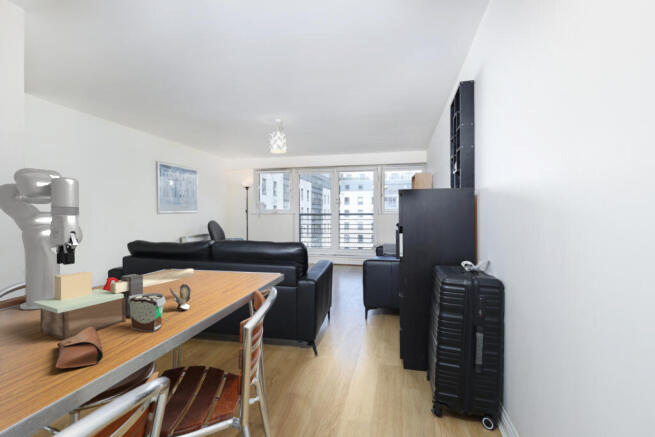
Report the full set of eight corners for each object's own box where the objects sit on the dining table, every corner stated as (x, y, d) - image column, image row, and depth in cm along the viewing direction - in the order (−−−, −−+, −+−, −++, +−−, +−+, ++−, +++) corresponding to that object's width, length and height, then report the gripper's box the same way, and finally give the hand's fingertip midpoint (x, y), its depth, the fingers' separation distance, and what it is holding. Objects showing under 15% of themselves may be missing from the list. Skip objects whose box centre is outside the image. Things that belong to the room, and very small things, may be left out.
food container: (175, 326, 92) (175, 294, 92) (157, 333, 86) (157, 299, 86) (146, 321, 96) (146, 291, 96) (128, 328, 90) (127, 296, 90)
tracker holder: (105, 306, 112) (105, 280, 112) (96, 305, 113) (96, 279, 113) (132, 297, 124) (132, 274, 124) (124, 296, 125) (123, 273, 125)
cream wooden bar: (110, 292, 96) (110, 283, 96) (188, 275, 123) (188, 268, 123) (115, 293, 95) (115, 284, 95) (193, 276, 122) (193, 269, 122)
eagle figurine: (178, 306, 112) (178, 283, 111) (195, 307, 111) (195, 283, 111) (165, 313, 104) (165, 288, 104) (184, 314, 103) (184, 288, 103)
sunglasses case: (54, 342, 76) (74, 318, 79) (82, 352, 80) (100, 328, 83) (54, 369, 63) (78, 339, 66) (87, 378, 67) (109, 350, 70)
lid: (32, 305, 87) (32, 278, 86) (98, 292, 102) (98, 268, 102) (57, 313, 80) (57, 283, 80) (123, 297, 95) (123, 272, 95)
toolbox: (40, 331, 87) (40, 285, 87) (121, 310, 107) (121, 272, 107) (64, 340, 81) (64, 290, 81) (145, 315, 101) (145, 275, 101)
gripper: (40, 212, 104) (40, 263, 104) (64, 212, 97) (64, 267, 97) (66, 212, 111) (66, 260, 111) (90, 212, 104) (90, 263, 104)
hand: (65, 263), depth 104 cm, fingers open, 3 cm apart
